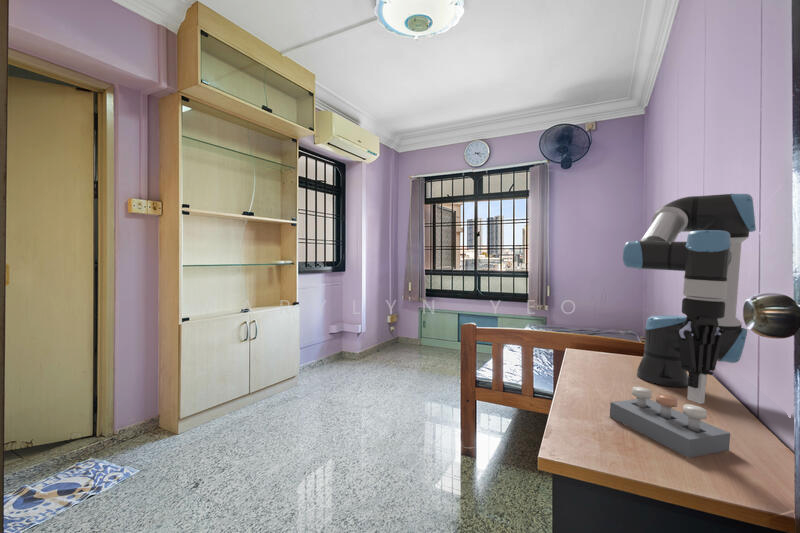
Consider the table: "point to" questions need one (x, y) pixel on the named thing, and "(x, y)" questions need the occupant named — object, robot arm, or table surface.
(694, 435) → the console
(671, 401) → the terracotta plunger
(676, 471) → the table surface
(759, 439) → the table surface
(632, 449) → the table surface
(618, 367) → the table surface
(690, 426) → the plunger
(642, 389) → the plunger
